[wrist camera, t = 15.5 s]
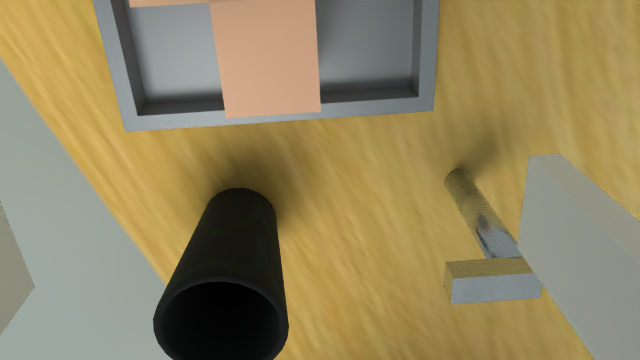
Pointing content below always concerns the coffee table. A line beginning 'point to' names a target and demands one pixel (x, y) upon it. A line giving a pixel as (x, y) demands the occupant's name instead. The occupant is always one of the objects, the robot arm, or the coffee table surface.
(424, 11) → the tray
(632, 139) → the coffee table surface
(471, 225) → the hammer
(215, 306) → the cup
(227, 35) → the salmon open box
